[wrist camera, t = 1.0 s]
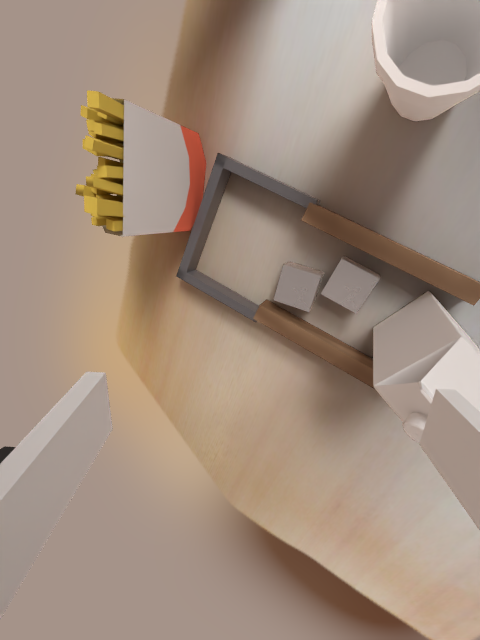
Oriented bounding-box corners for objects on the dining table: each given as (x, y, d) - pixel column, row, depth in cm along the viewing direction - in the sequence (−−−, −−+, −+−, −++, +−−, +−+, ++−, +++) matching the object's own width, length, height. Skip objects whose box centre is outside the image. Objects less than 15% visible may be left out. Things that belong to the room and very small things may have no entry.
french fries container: (170, 223, 44) (56, 229, 28) (176, 134, 40) (47, 82, 24) (200, 229, 43) (97, 239, 27) (209, 138, 39) (94, 85, 23)
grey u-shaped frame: (226, 156, 39) (218, 152, 36) (320, 200, 36) (317, 199, 34) (185, 273, 45) (176, 276, 43) (262, 317, 43) (256, 322, 41)
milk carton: (428, 289, 35) (480, 359, 18) (471, 339, 35) (564, 456, 18) (372, 326, 38) (371, 415, 21) (411, 372, 38) (442, 497, 21)
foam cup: (393, 158, 33) (403, 128, 21) (357, 69, 31) (348, -14, 20) (505, 97, 28) (595, 17, 17) (468, -9, 27) (537, -173, 16)
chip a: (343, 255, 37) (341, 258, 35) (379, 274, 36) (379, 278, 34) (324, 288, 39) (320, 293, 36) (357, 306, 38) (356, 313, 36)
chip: (289, 261, 40) (283, 264, 37) (324, 271, 39) (321, 275, 36) (279, 294, 41) (273, 300, 39) (313, 305, 40) (309, 312, 38)
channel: (314, 203, 36) (309, 202, 34) (479, 281, 33) (488, 287, 30) (260, 312, 43) (253, 318, 40) (393, 387, 39) (394, 400, 37)
